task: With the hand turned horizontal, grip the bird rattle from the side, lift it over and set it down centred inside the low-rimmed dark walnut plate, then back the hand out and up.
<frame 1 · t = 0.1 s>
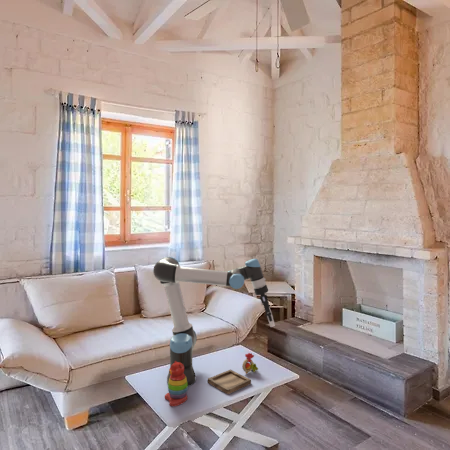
hand: (271, 322, 201), 28 cm above the table, tool tilted 20°, fingers open, 13 cm apart
walnut plate: (229, 383, 189), on the table
bird rattle: (249, 372, 202), on the table
stacking bear: (177, 399, 174), on the table
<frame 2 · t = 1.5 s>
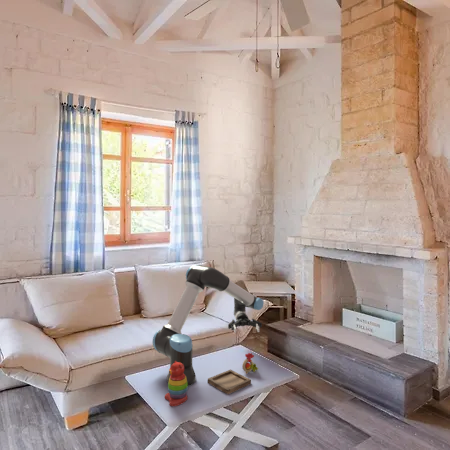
hand: (247, 330, 210), 20 cm above the table, tool horizontal, fingers open, 13 cm apart
nothing on the table moved.
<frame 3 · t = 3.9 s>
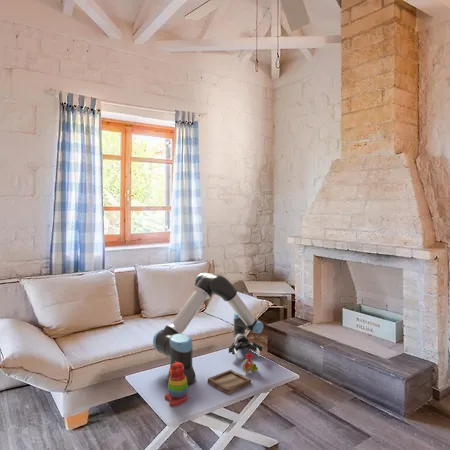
hand: (247, 355, 209), 6 cm above the table, tool horizontal, fingers open, 13 cm apart
nothing on the table moved.
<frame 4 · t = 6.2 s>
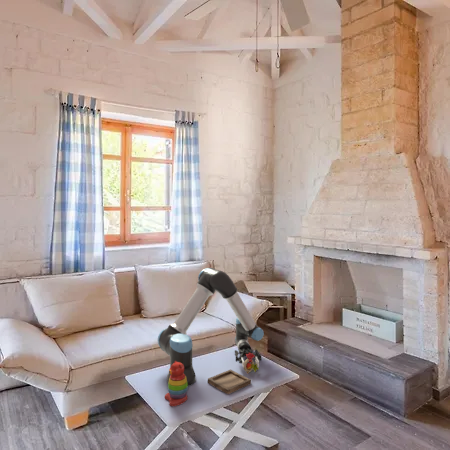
hand: (251, 364, 197), 7 cm above the table, tool horizontal, fingers open, 7 cm apart
bird rattle: (250, 372, 202), on the table, touching gripper
everything else where it was.
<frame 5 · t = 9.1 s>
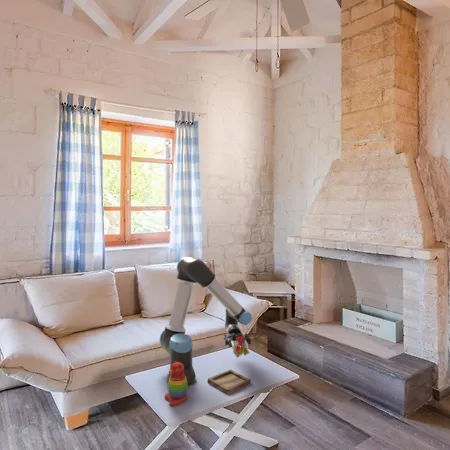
hand: (240, 347, 188), 19 cm above the table, tool horizontal, fingers closed on bird rattle, 7 cm apart
bird rattle: (240, 356, 193), point 12 cm above the table, touching gripper
everything else where it was.
when the fingers open (9 cm above the table, at t = 11.8 s): bird rattle drops 1 cm, resting on walnut plate.
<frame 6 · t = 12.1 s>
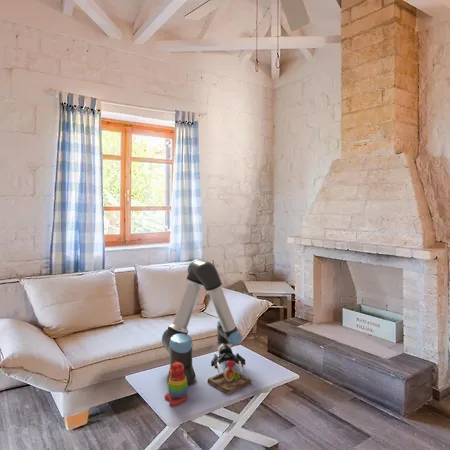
hand: (230, 369, 185), 9 cm above the table, tool horizontal, fingers open, 11 cm apart
bird rattle: (231, 381, 189), point 1 cm above the table, touching walnut plate
everything else where it was.
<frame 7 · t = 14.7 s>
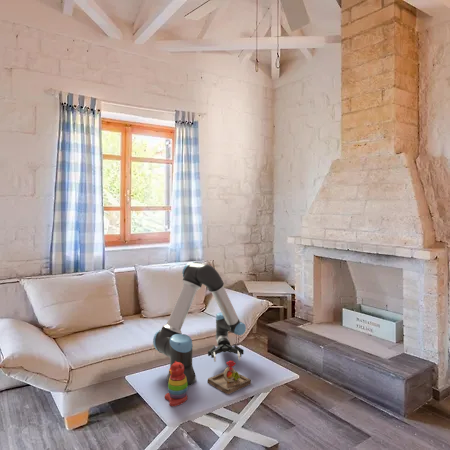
hand: (227, 358, 198), 9 cm above the table, tool horizontal, fingers open, 13 cm apart
nothing on the table moved.
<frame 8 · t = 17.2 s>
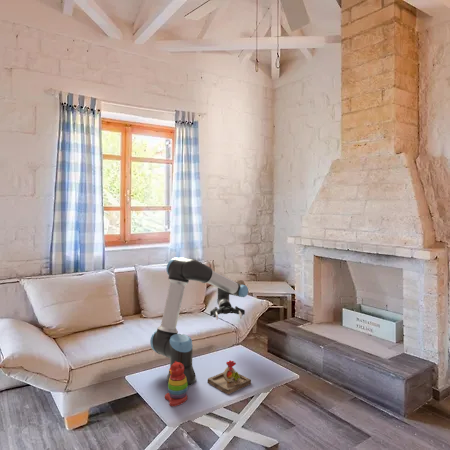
hand: (229, 316, 204), 30 cm above the table, tool horizontal, fingers open, 13 cm apart
nothing on the table moved.
at the end: bird rattle 0.9 cm off-centre on the walnut plate, point 1.0 cm above the walnut plate's base; bird rattle tilted 0°; the gripper is holding nothing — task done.
